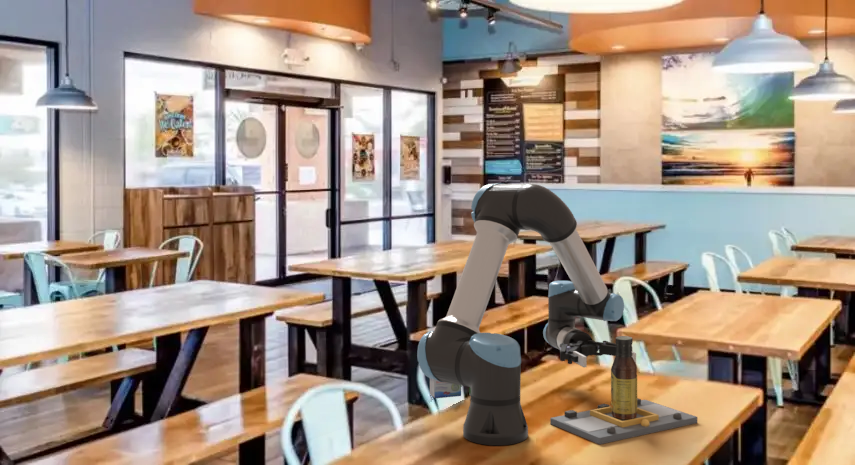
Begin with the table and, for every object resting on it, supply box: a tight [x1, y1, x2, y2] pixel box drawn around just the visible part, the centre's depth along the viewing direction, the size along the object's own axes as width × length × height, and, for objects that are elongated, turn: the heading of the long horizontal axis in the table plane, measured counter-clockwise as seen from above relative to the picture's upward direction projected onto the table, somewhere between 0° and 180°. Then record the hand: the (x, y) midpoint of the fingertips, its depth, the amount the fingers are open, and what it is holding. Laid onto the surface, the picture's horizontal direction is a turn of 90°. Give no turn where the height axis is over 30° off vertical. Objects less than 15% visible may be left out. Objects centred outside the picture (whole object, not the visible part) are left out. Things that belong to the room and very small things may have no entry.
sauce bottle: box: [610, 335, 638, 420], centre depth 215 cm, size 6×6×20 cm
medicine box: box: [429, 378, 462, 399], centre depth 242 cm, size 8×4×9 cm, turn 105°
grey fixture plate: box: [549, 397, 698, 445], centre depth 216 cm, size 31×18×3 cm, turn 120°
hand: (610, 360), depth 222 cm, fingers open, 13 cm apart
